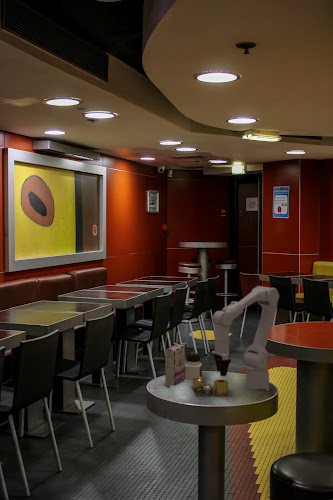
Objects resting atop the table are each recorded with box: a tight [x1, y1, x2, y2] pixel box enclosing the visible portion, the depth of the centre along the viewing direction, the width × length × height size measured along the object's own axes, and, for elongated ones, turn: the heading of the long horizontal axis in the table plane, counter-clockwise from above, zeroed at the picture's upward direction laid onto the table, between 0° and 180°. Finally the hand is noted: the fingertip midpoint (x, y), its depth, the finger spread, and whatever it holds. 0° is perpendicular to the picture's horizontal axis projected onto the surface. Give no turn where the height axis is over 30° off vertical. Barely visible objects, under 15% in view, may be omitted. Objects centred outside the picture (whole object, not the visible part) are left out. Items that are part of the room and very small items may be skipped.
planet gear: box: [213, 378, 229, 395], centre depth 241 cm, size 6×6×5 cm
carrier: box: [190, 376, 234, 398], centre depth 244 cm, size 15×16×6 cm
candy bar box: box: [164, 344, 186, 388], centre depth 257 cm, size 11×5×16 cm, turn 154°
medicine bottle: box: [185, 352, 203, 381], centre depth 265 cm, size 7×7×12 cm
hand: (221, 373), depth 240 cm, fingers open, 7 cm apart
